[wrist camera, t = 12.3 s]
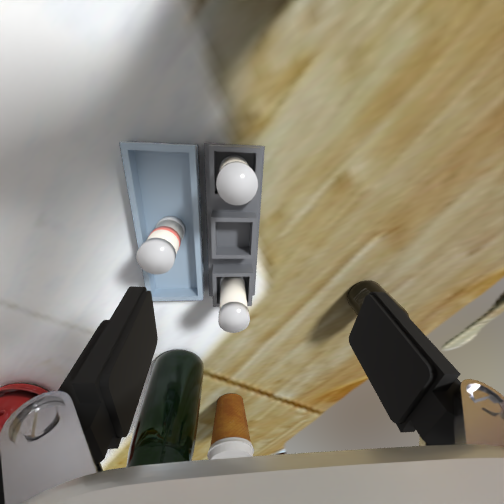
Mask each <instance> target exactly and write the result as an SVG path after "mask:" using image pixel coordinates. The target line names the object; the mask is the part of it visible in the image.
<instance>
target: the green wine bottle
mask: <svg viewBox="0 0 504 504" xmlns="http://www.w3.org/2000/svg"><path fill="white" fill-rule="evenodd" d="M203 372H204V366H203V362H202V360H201V359H200V358H199V357H198V356H197V355H196V354H194V353H192V352H190V351H186V350H171V351H168V352H165V353H163V354H162V355H160V356H159V357H158V358H157V359H156V361H155V362H154V365H153V367H152V371H151V374H150V377H149V381H148V384H147V387H146V391H145V394H144V397H143V401H142V404H141V408H140V411H139V415H138V418H137V422H136V425H135V428H134V432H133V436H132V440H131V444H130V448H129V452H128V459H127V466H126V467H132V466H140V465H151V464H162V463H173V462H185V461H192V457H193V452H194V446H195V440H196V433H197V425H198V416H199V408H200V400H201V391H202V382H203Z"/></svg>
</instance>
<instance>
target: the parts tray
mask: <svg viewBox="0 0 504 504" xmlns="http://www.w3.org/2000/svg"><path fill="white" fill-rule="evenodd" d="M119 143H120V149H121V154H122V160H123V166H124V171H125V177H126V182H127V188H128V193H129V199H130V205H131V210H132V216H133V221H134V227H135V232H136V238H137V244H138V249H139V248H140V247H141V245H142V244H143V243H144V242H145V241H146V240H147V239H148V237H149V235H150V234H151V232H152V231H153V230H154V229H155V227H156V225H157V223H158V222H159V221H160V219H162V218H163V217H165V216H175V217H178V218H179V219H181V220H182V221H183V223H184V225H185V228H186V231H185V235H184V237H183V239H182V241H181V244H180V247H179V249H178V251H177V254H176V258H175V261H174V264H173V266H172V268H171V269H170V270H169V271H168V272H166V273H163V274H151V273H148V272H146V271H144V270H143V269H142V271H143V277H144V282H145V287H146V289H147V291H151V294H152V301H184V300H203V296H204V270H203V248H202V227H201V205H200V184H199V162H198V145H190V144H171V143H151V142H131V141H127V142H119Z"/></svg>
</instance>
